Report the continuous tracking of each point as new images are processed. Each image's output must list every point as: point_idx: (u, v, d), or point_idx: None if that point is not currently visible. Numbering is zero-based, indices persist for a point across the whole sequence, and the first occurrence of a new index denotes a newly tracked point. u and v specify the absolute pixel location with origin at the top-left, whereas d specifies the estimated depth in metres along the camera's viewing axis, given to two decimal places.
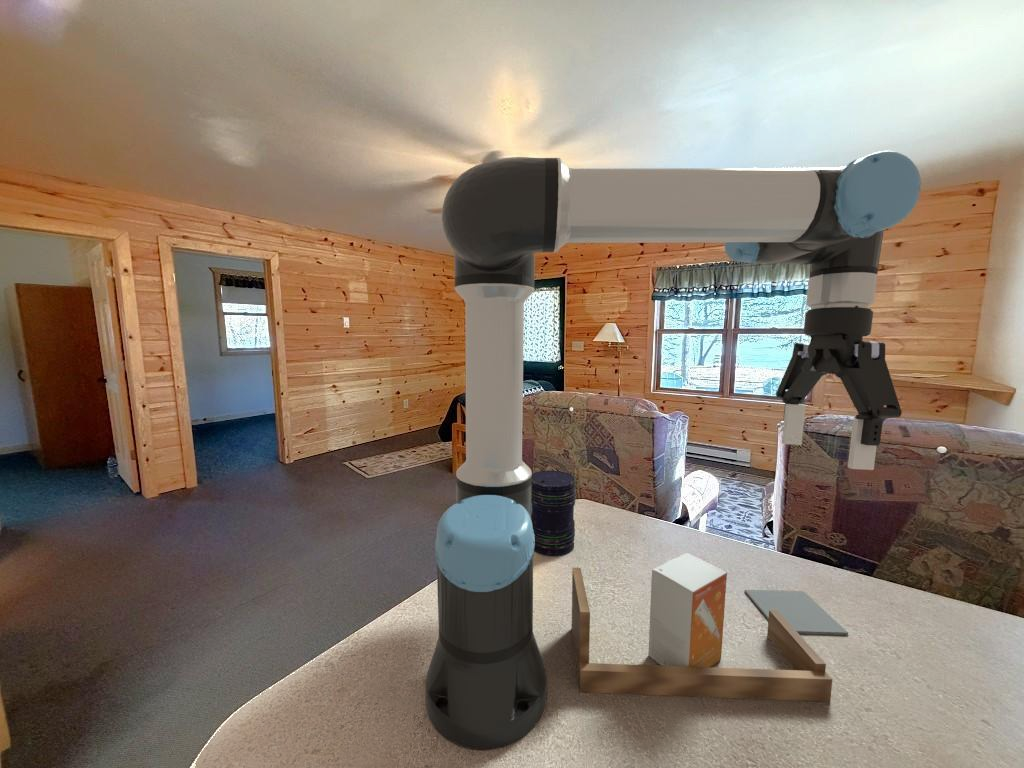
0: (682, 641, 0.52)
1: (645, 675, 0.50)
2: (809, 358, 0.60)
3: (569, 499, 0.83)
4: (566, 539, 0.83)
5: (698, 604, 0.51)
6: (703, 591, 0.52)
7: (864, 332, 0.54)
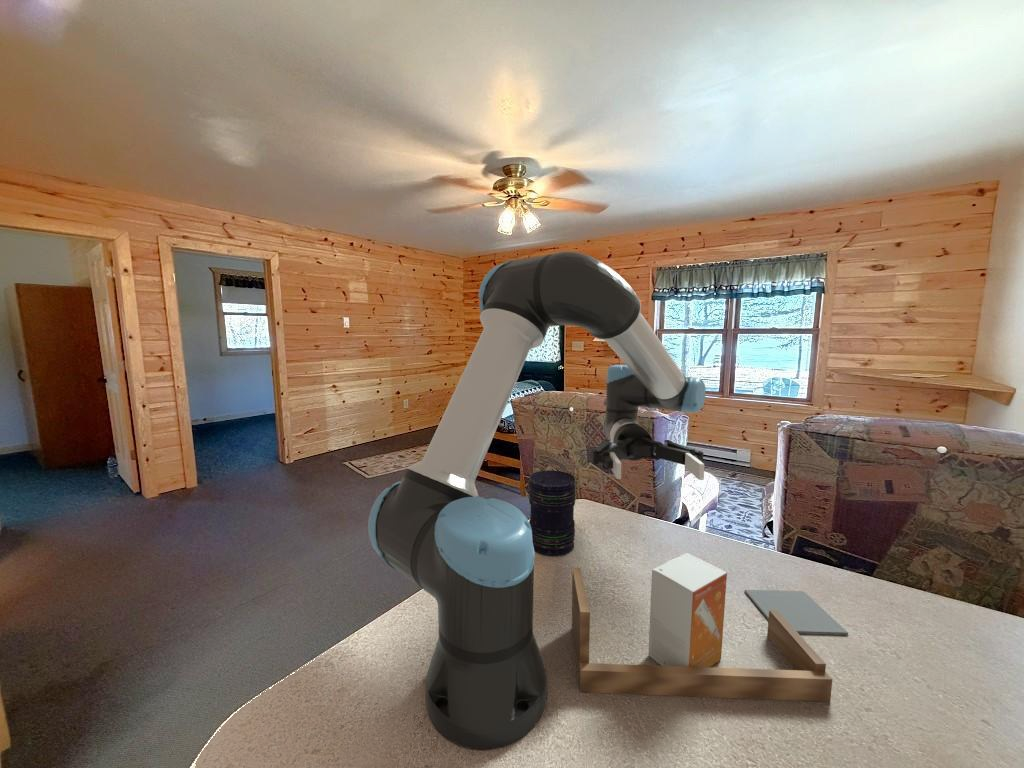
0: (682, 641, 0.52)
1: (645, 675, 0.50)
2: (628, 440, 0.82)
3: (569, 499, 0.83)
4: (566, 539, 0.83)
5: (698, 604, 0.51)
6: (703, 591, 0.52)
7: None
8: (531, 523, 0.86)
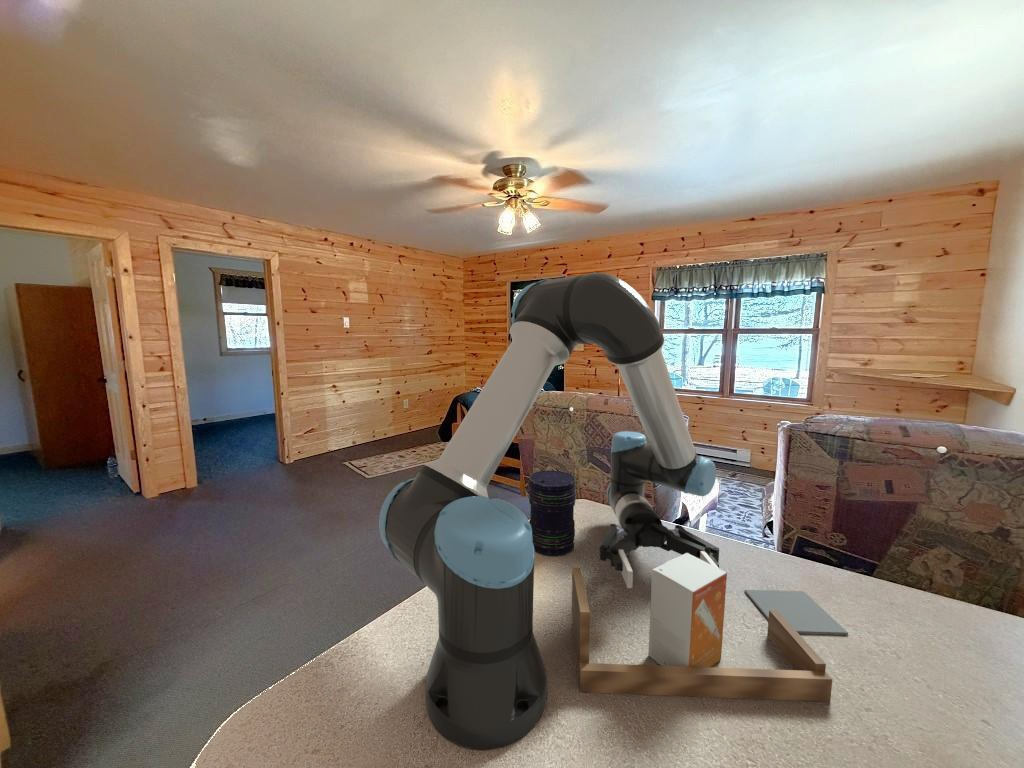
0: (682, 641, 0.52)
1: (645, 675, 0.50)
2: (636, 527, 0.76)
3: (569, 499, 0.83)
4: (566, 539, 0.83)
5: (698, 604, 0.51)
6: (703, 591, 0.52)
7: None
8: (531, 523, 0.86)
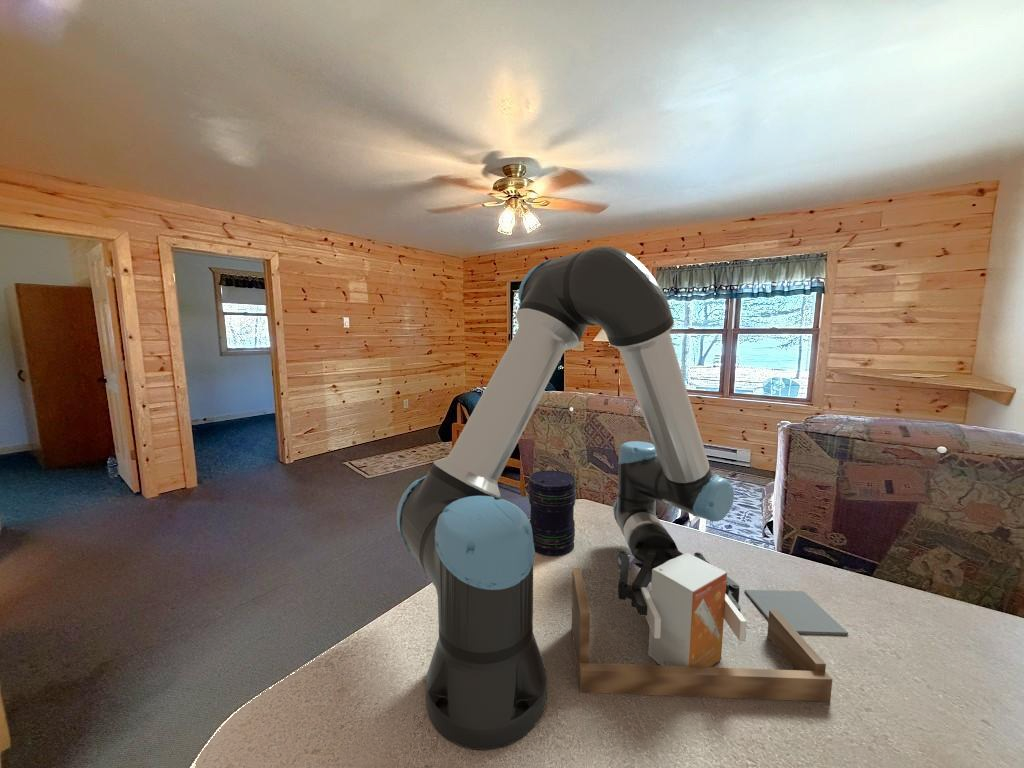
0: (682, 641, 0.52)
1: (645, 675, 0.50)
2: (648, 553, 0.66)
3: (569, 499, 0.83)
4: (566, 539, 0.83)
5: (697, 604, 0.51)
6: (703, 591, 0.52)
7: None
8: (531, 523, 0.86)
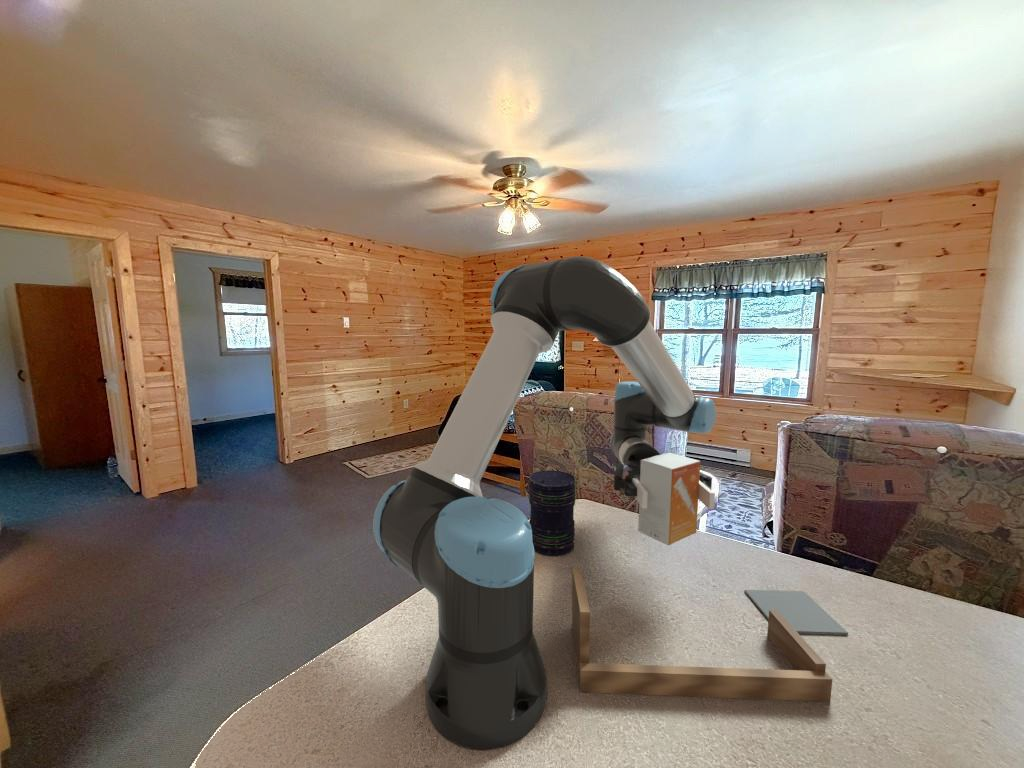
0: (664, 511, 0.66)
1: (645, 675, 0.50)
2: (639, 461, 0.80)
3: (569, 499, 0.83)
4: (566, 539, 0.83)
5: (676, 480, 0.65)
6: (680, 471, 0.65)
7: None
8: (531, 523, 0.86)
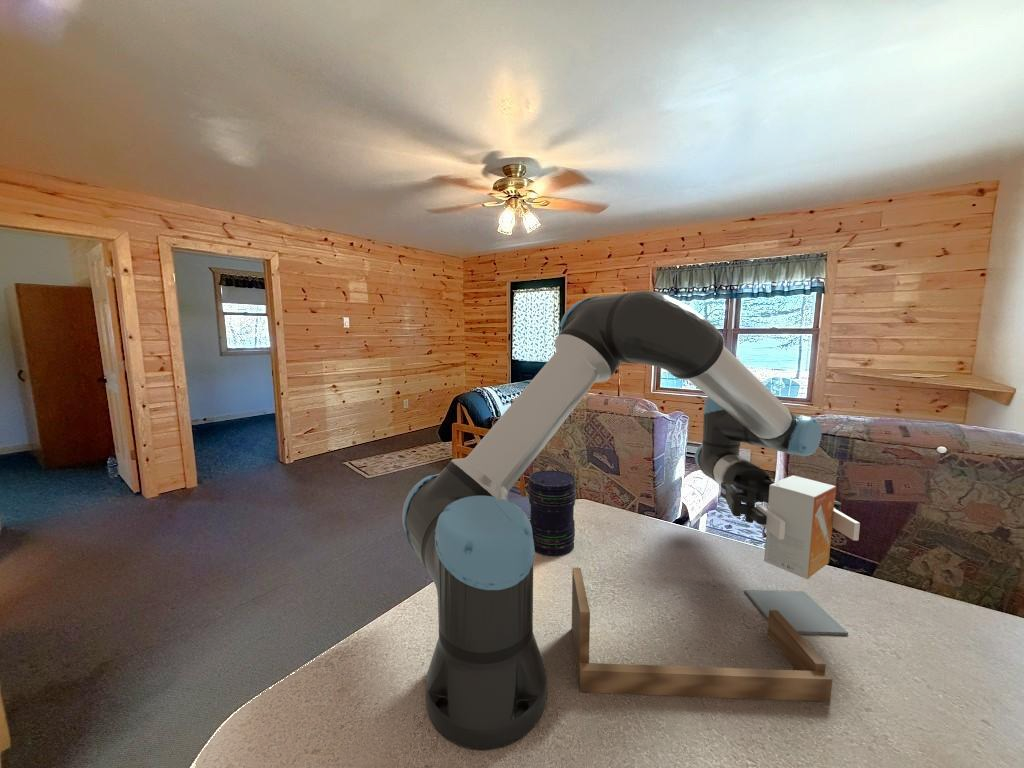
0: (802, 542, 0.61)
1: (645, 675, 0.50)
2: (750, 483, 0.75)
3: (569, 499, 0.83)
4: (566, 539, 0.83)
5: (817, 508, 0.60)
6: (821, 498, 0.60)
7: None
8: (531, 523, 0.86)
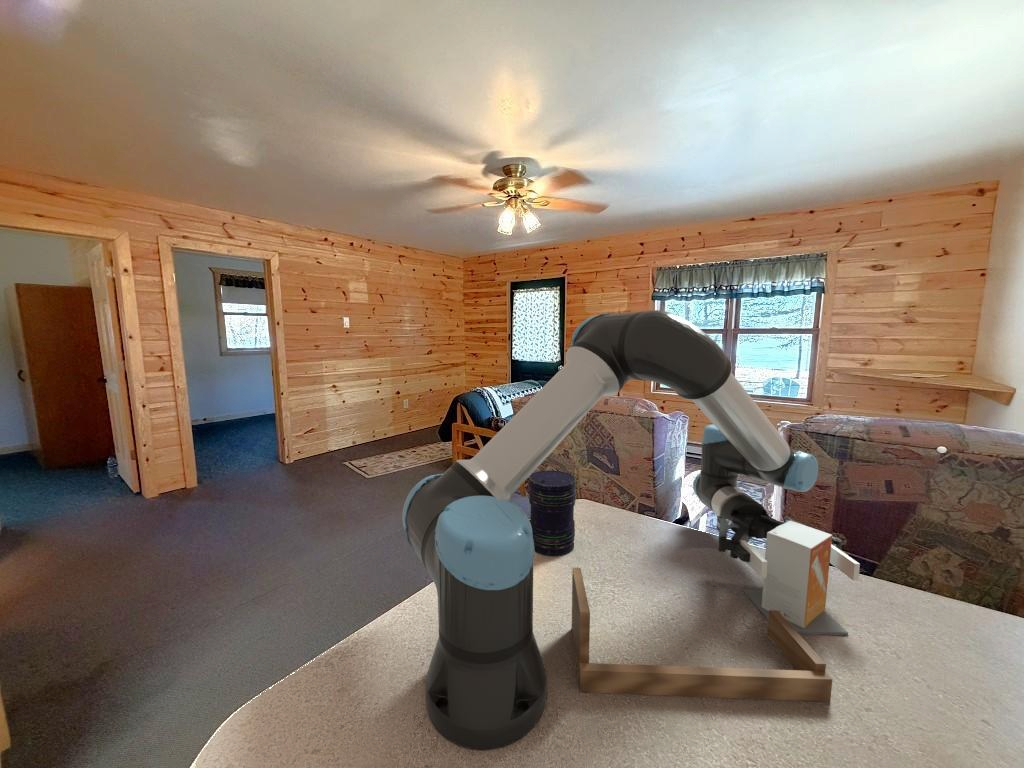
0: (799, 591, 0.61)
1: (645, 675, 0.50)
2: (747, 519, 0.75)
3: (569, 499, 0.83)
4: (566, 539, 0.83)
5: (813, 559, 0.61)
6: (817, 549, 0.61)
7: None
8: (531, 523, 0.86)
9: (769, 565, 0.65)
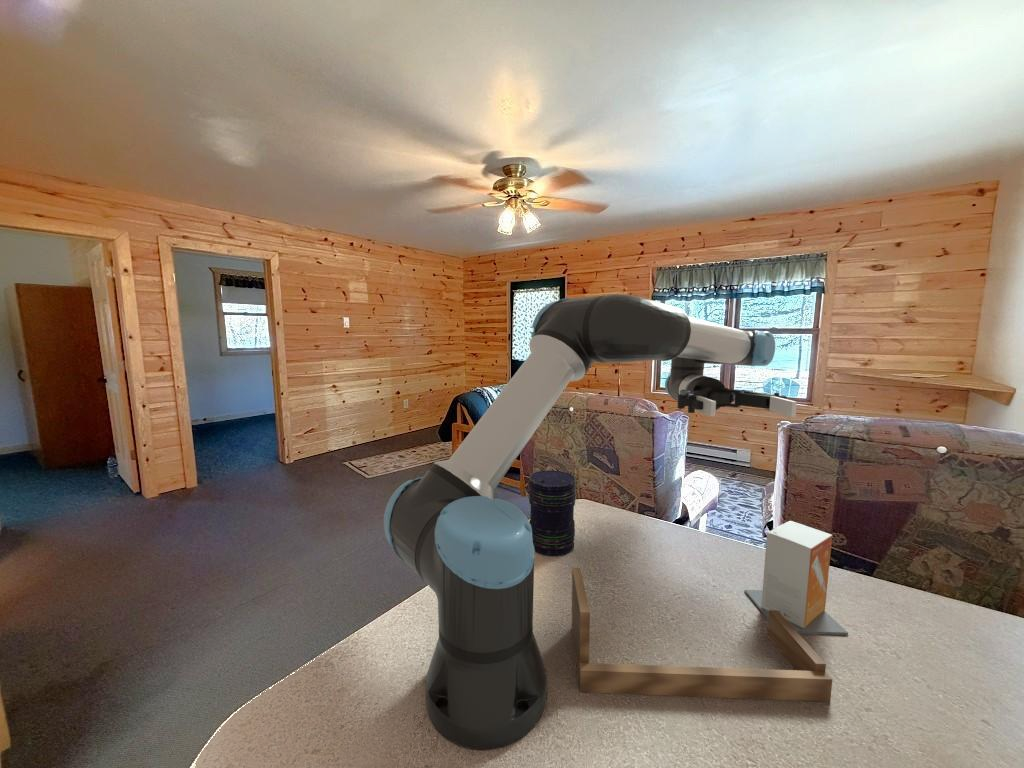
0: (799, 591, 0.61)
1: (645, 675, 0.50)
2: (706, 389, 0.84)
3: (569, 499, 0.83)
4: (566, 539, 0.83)
5: (813, 559, 0.61)
6: (817, 549, 0.61)
7: None
8: (531, 523, 0.86)
9: (769, 565, 0.65)
